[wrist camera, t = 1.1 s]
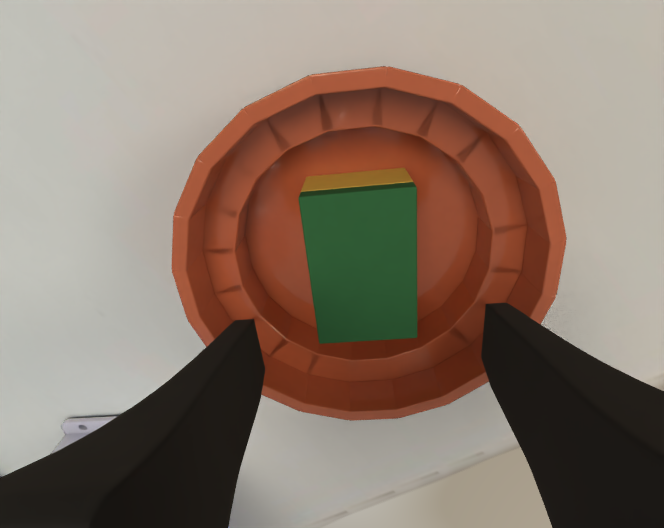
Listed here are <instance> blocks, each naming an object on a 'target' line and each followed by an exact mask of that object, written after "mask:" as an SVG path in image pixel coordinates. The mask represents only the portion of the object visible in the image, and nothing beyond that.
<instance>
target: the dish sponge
mask: <svg viewBox="0 0 664 528" xmlns="http://www.w3.org/2000/svg"><path fill="white" fill-rule="evenodd" d="M298 200H299V207H300V214H301V221H302V228H303V235H304V242H305V249H306V256H307V263H308V270H309V277H310V284H311V291H312V298H313V305H314V312H315V319H316V326H317V333H318V340H319V343H320V344H325V343H341V342H358V341H374V340H391V339H407V338H417V187H416V185H415V184H414V182H413V180H412V179H411V177H410V175H409V174H408V172H407V171H406V169H405V168H395V169H384V170H373V171H363V172H352V173H341V174H330V175H320V176H309V177H306V179H305V182H304V184H303V187H302V190H301V192H300V195H299V198H298Z"/></svg>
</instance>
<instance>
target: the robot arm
mask: <svg viewBox="0 0 664 528" xmlns="http://www.w3.org/2000/svg"><path fill="white" fill-rule="evenodd" d="M481 359H482V362H483V365H484V368H485V371H486V374H487V377H488V380H489V383H490V385H491V388H492V390H493V392H494V394H495V396H496V398H497V400H498V402H499V404H500V406H501V408H502V410H503V412H504V414H505V417H506V419H507V421H508V423H509V425H510V427H511V429H512V431H513V433H514V435H515V437H516V439H517V441H518V443H519V445H520V447H521V449H522V451H523V453H524V455H525V457H526V459H527V461H528V464H529V466H530V468H531V470H532V473H533V476H534V478H535V481H536V484H537V486H538V489H539V492H540V494H541V497H542V500H543V502H544V505H545V508H546V511H547V514H548V516H549V519H550V522H551V525H552V528H664V391H662V390H659V389H657V388H655V387H653V386H650V385H648V384H646V383H644V382H641V381H639V380H637V379H635V378H633V377H631V376H629V375H627V374H625V373H623V372H621V371H619V370H617V369H615V368H613V367H611V366H609V365H607V364H605V363H603V362H601V361H600V360H598V359H596V358H594V357H593V356H591V355H589V354H587V353H586V352H584V351H582V350H580V349H579V348H577V347H575V346H574V345H572V344H570V343H569V342H567V341H565V340H564V339H562V338H561V337H559V336H557V335H556V334H554V333H553V332H551V331H550V330H548V329H547V328H545V327H543V326H542V325H540V324H539V323H537V322H536V321H534V320H533V319H531V318H530V317H528V316H527V315H525V314H524V313H522V312H521V311H519V310H518V309H516V308H515V307H513V306H512V305H510V304H508V303H491V304H486V306H485V318H484V329H483V340H482V351H481ZM264 375H265V365H264V361H263V356H262V352H261V348H260V343H259V339H258V334H257V330H256V326H255V321H254V319H245V320H235V321H234V322H233V323H231V324H230V325H229V326H228V327H227V328H226V329H225V330H224V331H223V332H222V333H221V334H220V335H219V336H218V337H217V338H216V339H215V340H214V341H213V342H211V343H210V344H209V345H208V346H207V347H206V348H205V349H204V350H203V351H202V352H201V353H200V354H199V355H198V356H197V357H195V358H194V359H193V360H192V361H191V362H190V363H189V364H187V365H186V366H185V367H184V368H183V369H182V370H180V371H179V372H178V373H177V374H176V375H175V376H173V377H172V378H171V379H170V380H169V381H167V382H166V383H165V384H164V385H162V386H161V387H160V388H158V389H157V390H156V391H154V392H153V393H152V394H150V395H149V396H148V397H146V398H145V399H143V400H142V401H141V402H139V403H138V404H136V405H135V406H133V407H132V408H130V409H129V410H127V411H126V412H124V413H122V414H121V415H119V416H112V417H91V418H70V419H66V420H64V422H63V423H62V424H61V428H62V430H63V431H64V433H65V436H64V437H63V438H62V440H61V441H60V442H59V443H58V445H57V446H56V447H55V449H54V450H53V451H52V453H51V454H50V455H48V456H46V457H44V458H42V459H40V460H38V461H35V462H33V463H31V464H29V465H27V466H25V467H23V468H20V469H18V470H16V471H14V472H12V473H10V474H8V475H5V476H3V477H1V478H0V528H228V526H229V520H230V514H231V509H232V504H233V499H234V493H235V488H236V483H237V478H238V474H239V471H240V467H241V463H242V460H243V456H244V453H245V450H246V446H247V443H248V440H249V436H250V433H251V430H252V426H253V423H254V420H255V416H256V413H257V409H258V406H259V402H260V399H261V394H262V388H263V382H264Z"/></svg>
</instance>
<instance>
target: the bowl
mask: <svg viewBox="0 0 664 528" xmlns="http://www.w3.org/2000/svg"><path fill="white" fill-rule="evenodd" d="M395 168H405V169H406V171H407V172H408V174H409V175H410V177H411V179H412V180H413V182H414V184H415V185H416V187H417V338H407V339H391V340H374V341H358V342H341V343H325V344H320V343H319V340H318V333H317V326H316V319H315V312H314V305H313V298H312V291H311V284H310V277H309V270H308V263H307V256H306V249H305V242H304V235H303V228H302V221H301V214H300V207H299V200H298V198H299V195H300V192H301V190H302V187H303V184H304V182H305V179H306V177H309V176H320V175H330V174H341V173H352V172H363V171H373V170H384V169H395ZM565 246H566V233H565V228H564V223H563V217H562V212H561V207H560V202H559V196H558V191H557V186H556V182H555V179H554V177H553V176H552V174H551V173H550V171H549V170H548V168H547V166H546V165H545V163H544V162H543V160H542V159H541V157H540V156H539V154H538V153H537V151H536V150H535V148H534V146H533V145H532V143H531V142H530V140H529V139H528V137H527V136H526V134H525V133H524V131H523V130H522V128H521V127H520V126H519V124H517V123H516V122H514V121H513V120H511V119H510V118H509V117H507V116H506V115H504V114H503V113H501V112H500V111H499V110H497V109H496V108H494V107H493V106H491V105H490V104H489V103H487V102H486V101H484V100H483V99H481V98H480V97H479V96H477V95H476V94H474V93H473V92H471V91H470V90H469V89H467V88H466V87H464V86H463V85H460V84H458V83H454V82H450V81H446V80H442V79H438V78H433V77H429V76H425V75H421V74H417V73H413V72H409V71H405V70H401V69H397V68H393V67H386V66H383V67H374V68H365V69H356V70H347V71H338V72H329V73H320V74H312V75H308V76H306V77H304V78H302V79H300V80H298V81H296V82H294V83H292V84H290V85H288V86H286V87H284V88H282V89H280V90H278V91H276V92H274V93H272V94H270V95H268V96H266V97H264V98H262V99H260V100H258V101H256V102H254V103H252V104H250V105H248V106H246V107H244V109H242V110H241V111H240V112H239V113H238V114H237V115H236V116H235V117H234V118H233V119H232V120H231V121H230V123H229V124H228V125H227V126H226V127H225V128H224V129H223V130H222V131H221V132H220V133H219V134H218V135H217V136H216V137H215V139H214V140H213V141H212V142H211V143H210V144H209V145H208V146H207V147H206V148H205V149H204V150H203V151H202V152H201V153H200V154H199V156H198V158H197V159H196V161H195V163H194V166H193V168H192V170H191V173H190V175H189V178H188V180H187V183H186V185H185V187H184V190H183V192H182V195H181V197H180V199H179V202H178V204H177V207H176V209H175V211H174V216H173V244H172V273H173V276H174V279H175V282H176V286H177V289H178V292H179V295H180V298H181V301H182V304H183V307H184V311H185V314H186V317H187V319H188V322H189V323H190V324H191V326H192V327H193V329H194V330H195V331H196V333H197V334H198V336H199V337H200V338H201V340H202V341H203V343H204V344H205V345H206V347H207V346H208V345H209V344H210V343H211V342H213V341H214V340H215V339H216V338H217V337H218V336H219V335H220V334H221V333H222V332H223V331H224V330H225V329H226V328H227V327H228V326H229V325H230V324H231V323H233V322H234V321H235V320H245V319H254V321H255V326H256V330H257V334H258V339H259V343H260V348H261V352H262V356H263V361H264V365H265V375H264V382H263V388H262V394H261V395H264V396H266V397H268V398H271V399H273V400H275V401H277V402H280V403H282V404H284V405H286V406H289V407H291V408H293V409H295V410H298V411H301V412H305V413H311V414H316V415H322V416H327V417H333V418H338V419H344V420H350V421H351V420H373V419H395V418H398V417H399V418H401V417H405V416H409V415H412V414H416V413H419V412H423V411H427V410H430V409H434V408H437V407H441V406H445V405H447V404H450V403H451V402H453V401H455V400H457V399H459V398H460V397H462V396H464V395H466V394H467V393H469V392H471V391H473V390H475V389H476V388H478V387H480V386H482V385H484V384H485V383H487V382H489V380H488V377H487V374H486V371H485V368H484V365H483V362H482V359H481V351H482V340H483V329H484V318H485V306H486V304H491V303H508V304H510V305H512V306H513V307H515V308H516V309H518V310H519V311H521V312H522V313H524V314H525V315H527V316H528V317H530V318H531V319H533V320H534V321H536V322H537V323H539V324H541V322H542V321H543V319H544V317H545V315H546V314H547V312H548V310H549V308H550V306H551V305H552V303H553V301H554V299H555V297H556V295H557V290H558V285H559V279H560V274H561V268H562V263H563V257H564V252H565Z"/></svg>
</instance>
